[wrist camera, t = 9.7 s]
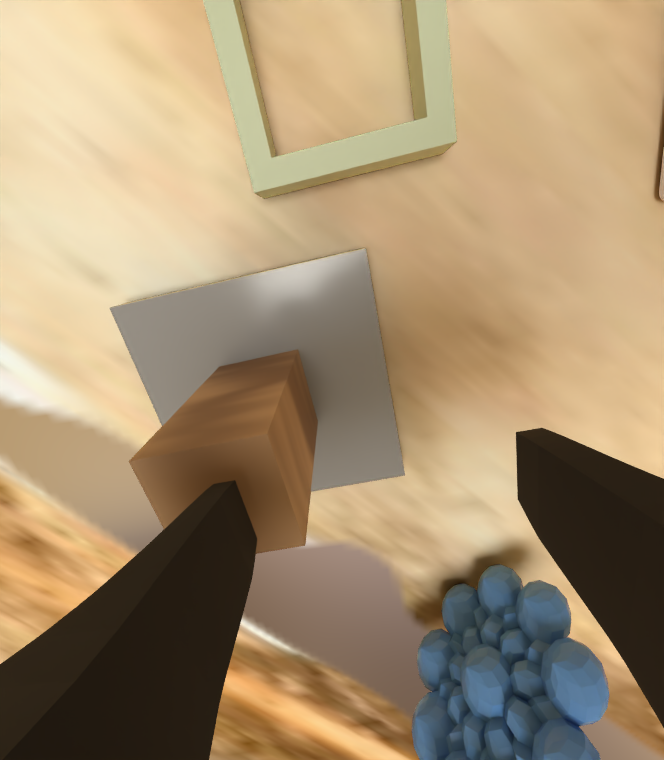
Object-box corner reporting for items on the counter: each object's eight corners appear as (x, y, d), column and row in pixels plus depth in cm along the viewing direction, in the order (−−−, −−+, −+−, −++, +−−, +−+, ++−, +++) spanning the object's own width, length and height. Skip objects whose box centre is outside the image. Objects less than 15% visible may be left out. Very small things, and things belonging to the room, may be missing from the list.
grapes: (436, 653, 27) (506, 941, 16) (374, 611, 25) (404, 900, 14) (566, 573, 24) (768, 864, 13) (505, 520, 22) (674, 799, 11)
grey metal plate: (363, 247, 16) (365, 248, 15) (400, 459, 21) (404, 475, 19) (127, 302, 18) (109, 307, 16) (208, 493, 22) (199, 510, 20)
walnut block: (297, 349, 17) (267, 433, 9) (317, 421, 18) (305, 545, 11) (219, 366, 17) (128, 461, 10) (244, 436, 19) (183, 565, 11)
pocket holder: (418, -106, 12) (433, -169, 10) (442, 153, 15) (457, 141, 13) (202, -38, 13) (180, -85, 11) (263, 198, 16) (254, 192, 14)
